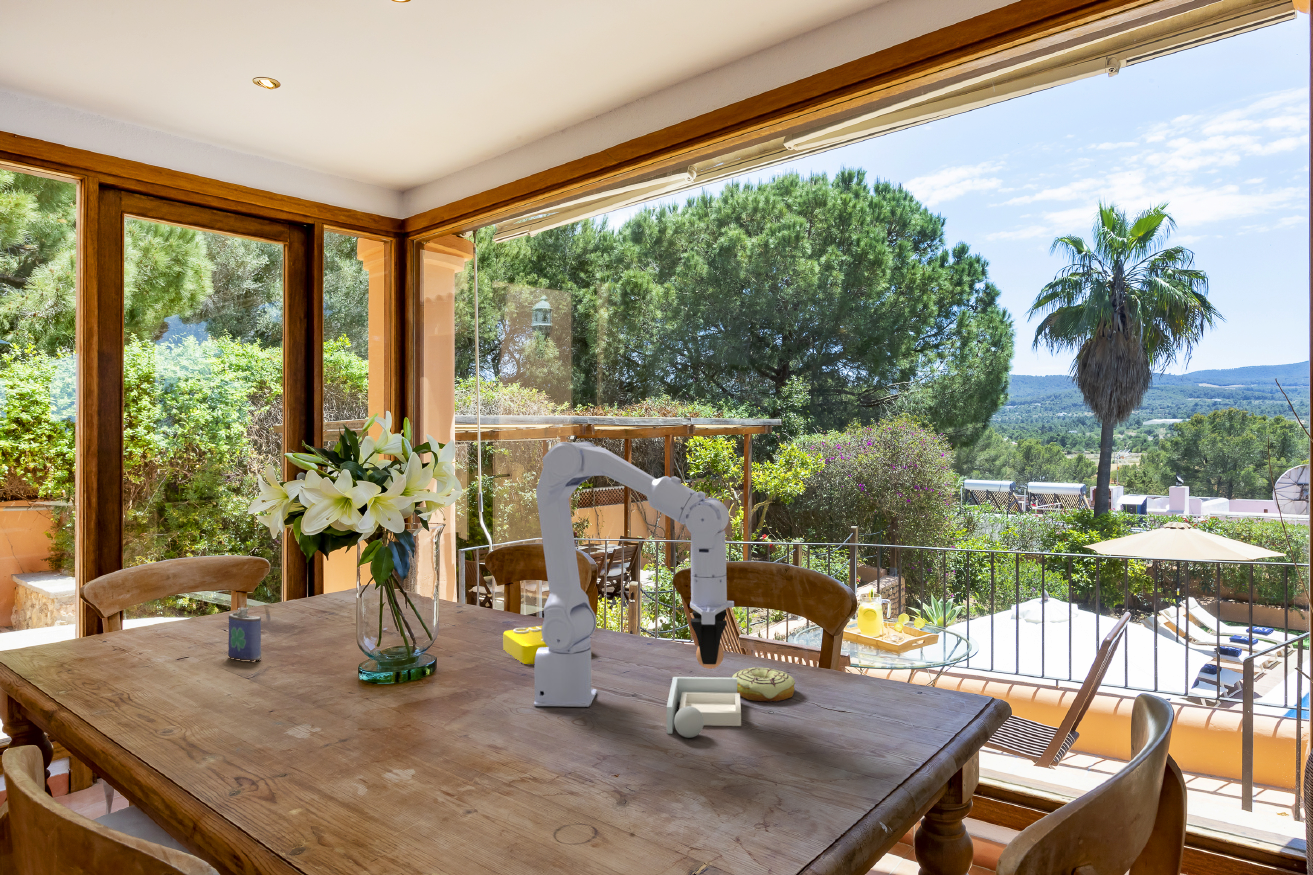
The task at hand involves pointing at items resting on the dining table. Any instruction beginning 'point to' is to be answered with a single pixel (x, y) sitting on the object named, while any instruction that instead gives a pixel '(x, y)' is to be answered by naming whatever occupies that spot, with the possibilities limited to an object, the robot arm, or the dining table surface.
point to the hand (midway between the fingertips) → (709, 659)
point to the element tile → (523, 643)
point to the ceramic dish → (715, 707)
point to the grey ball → (689, 721)
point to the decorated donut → (764, 684)
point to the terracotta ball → (710, 666)
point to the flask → (244, 636)
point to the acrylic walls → (695, 686)
